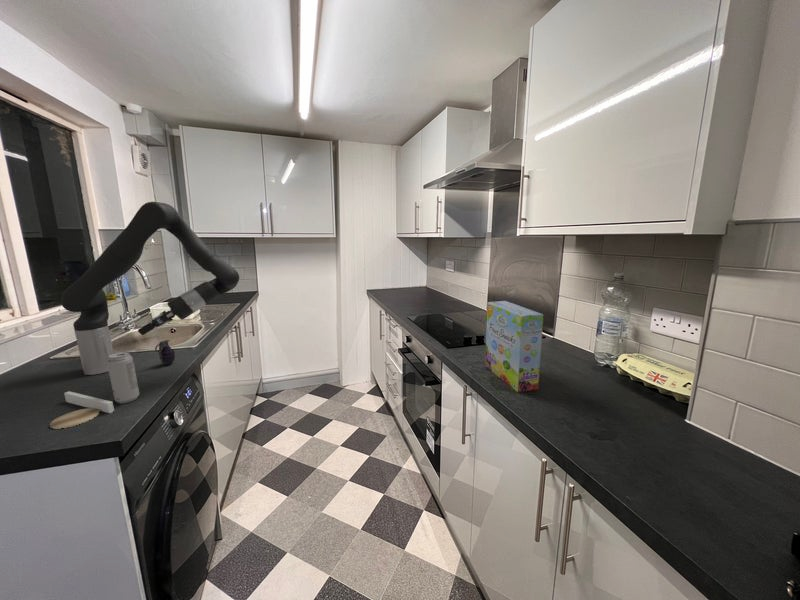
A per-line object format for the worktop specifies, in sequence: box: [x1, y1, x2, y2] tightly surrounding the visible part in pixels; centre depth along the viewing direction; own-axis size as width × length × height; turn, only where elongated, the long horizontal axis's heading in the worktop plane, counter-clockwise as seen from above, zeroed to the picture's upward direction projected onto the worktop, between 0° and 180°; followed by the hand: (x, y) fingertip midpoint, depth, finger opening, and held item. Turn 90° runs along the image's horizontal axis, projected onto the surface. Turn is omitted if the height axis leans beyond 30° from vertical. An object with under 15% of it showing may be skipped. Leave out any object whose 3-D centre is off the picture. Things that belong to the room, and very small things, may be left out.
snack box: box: [484, 300, 544, 393], centre depth 110 cm, size 22×9×26 cm, turn 14°
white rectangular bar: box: [64, 390, 115, 414], centre depth 97 cm, size 21×1×3 cm, turn 71°
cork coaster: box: [49, 407, 101, 430], centre depth 91 cm, size 10×10×1 cm
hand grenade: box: [154, 339, 176, 366], centre depth 127 cm, size 6×5×10 cm
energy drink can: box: [107, 351, 140, 405], centre depth 100 cm, size 6×6×15 cm
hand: (139, 332), depth 105 cm, fingers open, 8 cm apart
